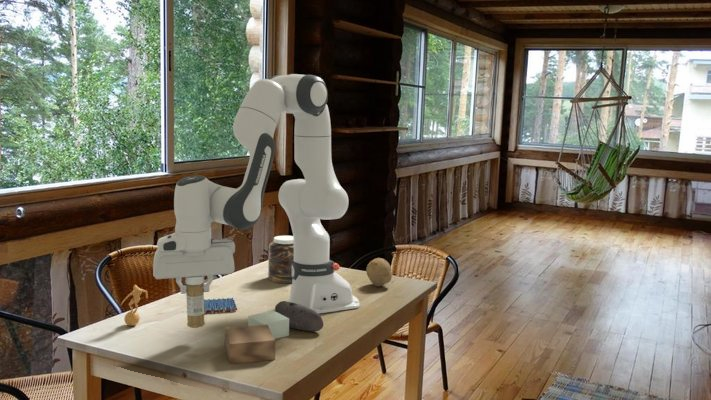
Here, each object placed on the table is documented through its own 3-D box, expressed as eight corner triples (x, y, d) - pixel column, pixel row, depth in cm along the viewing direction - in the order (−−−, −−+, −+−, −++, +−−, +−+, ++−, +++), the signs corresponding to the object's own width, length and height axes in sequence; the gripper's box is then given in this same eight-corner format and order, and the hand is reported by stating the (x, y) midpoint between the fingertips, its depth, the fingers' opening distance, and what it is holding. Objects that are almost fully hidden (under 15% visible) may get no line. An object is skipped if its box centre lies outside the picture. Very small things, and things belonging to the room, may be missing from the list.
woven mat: (238, 313, 189) (238, 307, 189) (201, 316, 186) (201, 309, 186) (234, 303, 199) (234, 296, 199) (200, 305, 196) (200, 298, 196)
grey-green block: (273, 327, 178) (273, 310, 177) (288, 336, 172) (289, 318, 171) (248, 333, 173) (248, 315, 172) (263, 342, 167) (263, 324, 166)
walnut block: (267, 343, 166) (267, 324, 165) (275, 359, 156) (275, 340, 155) (224, 346, 163) (224, 328, 162) (229, 363, 152) (229, 344, 152)
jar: (289, 272, 234) (290, 233, 232) (308, 280, 225) (309, 239, 223) (262, 277, 227) (262, 236, 224) (280, 285, 218) (280, 242, 216)
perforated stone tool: (327, 331, 176) (328, 307, 175) (317, 337, 171) (318, 312, 170) (283, 321, 183) (284, 298, 182) (272, 326, 179) (273, 302, 178)
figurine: (140, 319, 180) (139, 279, 178) (153, 324, 177) (153, 283, 175) (114, 327, 174) (113, 285, 172) (127, 332, 170) (126, 289, 168)
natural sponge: (366, 281, 226) (366, 254, 224) (391, 282, 225) (392, 255, 224) (365, 289, 217) (366, 260, 215) (391, 290, 216) (392, 261, 215)
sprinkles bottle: (204, 321, 167) (203, 272, 165) (205, 327, 163) (203, 277, 161) (186, 322, 166) (185, 273, 164) (186, 329, 162) (185, 278, 159)
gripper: (233, 235, 167) (234, 285, 169) (151, 239, 160) (154, 291, 163) (236, 240, 161) (237, 292, 163) (151, 245, 155) (154, 299, 157)
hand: (195, 292), depth 163 cm, fingers closed on sprinkles bottle, 4 cm apart
